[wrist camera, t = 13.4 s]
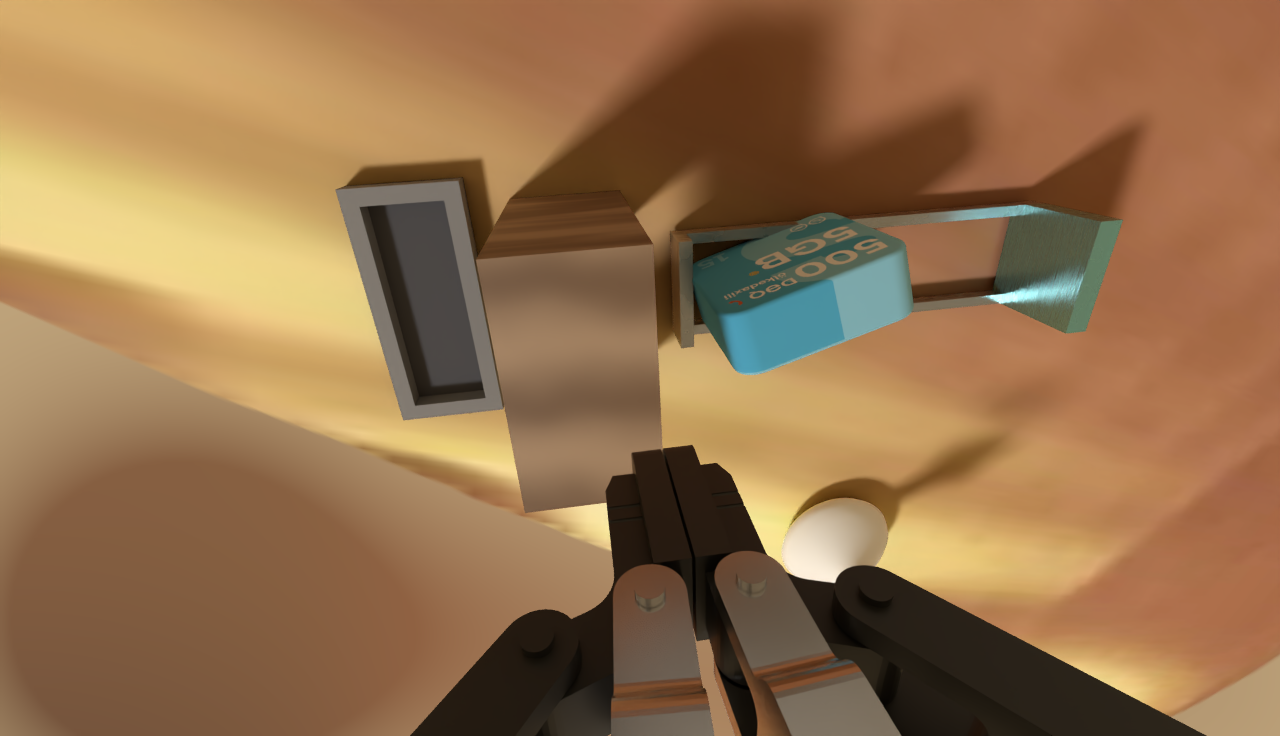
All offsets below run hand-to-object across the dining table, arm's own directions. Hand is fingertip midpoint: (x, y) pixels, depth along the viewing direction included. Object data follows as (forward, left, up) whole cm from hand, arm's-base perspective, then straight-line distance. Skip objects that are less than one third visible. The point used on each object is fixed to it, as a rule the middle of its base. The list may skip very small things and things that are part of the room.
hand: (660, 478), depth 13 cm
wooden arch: (+5, -2, -31) cm, 31 cm away
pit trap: (+5, -13, -31) cm, 34 cm away
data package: (+4, +13, -30) cm, 33 cm away
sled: (+5, +21, -30) cm, 37 cm away
